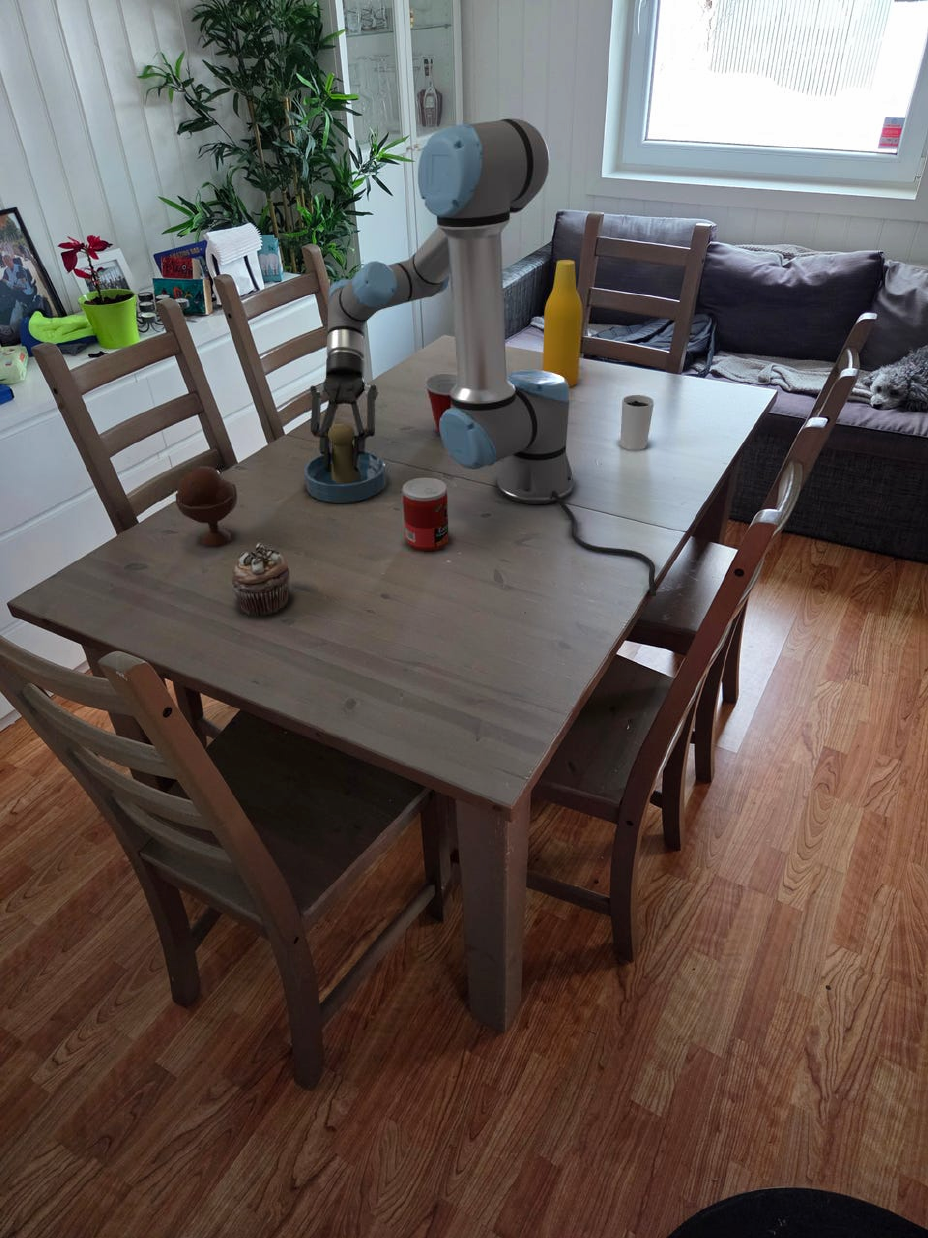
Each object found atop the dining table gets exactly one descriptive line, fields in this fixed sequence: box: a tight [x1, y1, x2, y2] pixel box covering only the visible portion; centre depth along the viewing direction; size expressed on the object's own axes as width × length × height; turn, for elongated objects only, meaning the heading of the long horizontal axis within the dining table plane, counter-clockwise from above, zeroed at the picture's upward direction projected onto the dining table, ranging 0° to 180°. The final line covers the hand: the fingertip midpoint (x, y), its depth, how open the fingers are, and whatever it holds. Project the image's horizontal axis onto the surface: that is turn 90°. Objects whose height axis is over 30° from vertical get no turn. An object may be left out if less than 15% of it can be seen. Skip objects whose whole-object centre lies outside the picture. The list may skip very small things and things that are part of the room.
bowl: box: [303, 450, 387, 504], centre depth 171 cm, size 16×16×4 cm
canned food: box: [402, 477, 450, 552], centre depth 150 cm, size 8×8×11 cm
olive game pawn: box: [328, 423, 361, 484], centre depth 167 cm, size 6×6×11 cm
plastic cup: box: [424, 372, 458, 435], centre depth 187 cm, size 11×11×12 cm
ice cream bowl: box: [175, 465, 238, 547], centre depth 151 cm, size 11×11×15 cm
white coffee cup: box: [619, 394, 655, 451], centre depth 181 cm, size 7×7×10 cm
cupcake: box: [229, 542, 290, 617], centre depth 136 cm, size 10×10×10 cm
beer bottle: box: [541, 259, 583, 388], centre depth 205 cm, size 9×9×29 cm
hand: (341, 469), depth 165 cm, fingers closed on olive game pawn, 5 cm apart
